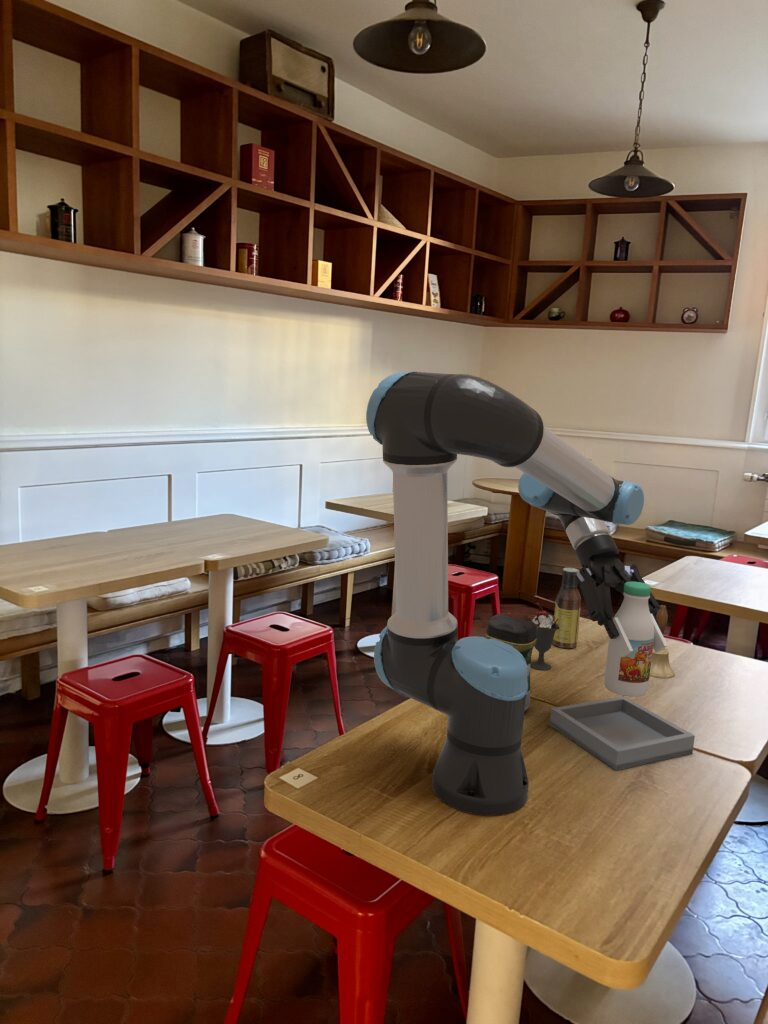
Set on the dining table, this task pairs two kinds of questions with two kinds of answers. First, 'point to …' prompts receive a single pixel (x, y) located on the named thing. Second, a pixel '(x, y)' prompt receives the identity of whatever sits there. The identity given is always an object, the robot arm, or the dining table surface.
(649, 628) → the milk bottle
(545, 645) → the sundae
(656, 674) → the hand bell
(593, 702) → the serving tray
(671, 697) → the dining table surface
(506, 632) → the coffee jar
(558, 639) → the sauce bottle
